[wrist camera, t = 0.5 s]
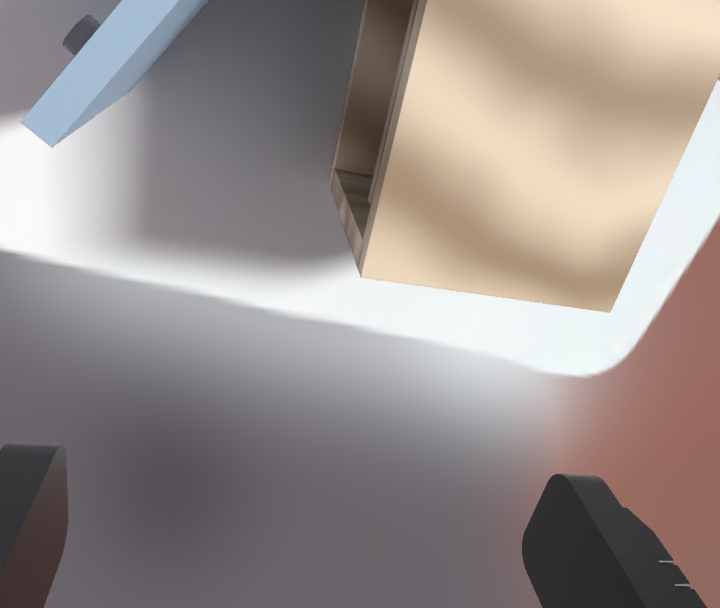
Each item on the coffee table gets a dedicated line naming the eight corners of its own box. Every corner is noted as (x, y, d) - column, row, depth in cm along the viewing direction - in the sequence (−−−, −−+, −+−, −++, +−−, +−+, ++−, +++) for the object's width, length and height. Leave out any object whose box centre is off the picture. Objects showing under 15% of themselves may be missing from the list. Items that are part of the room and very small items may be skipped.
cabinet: (408, -221, 28) (519, -385, 16) (625, -146, 31) (863, -238, 18) (329, 182, 37) (360, 277, 24) (503, 212, 39) (610, 312, 27)
